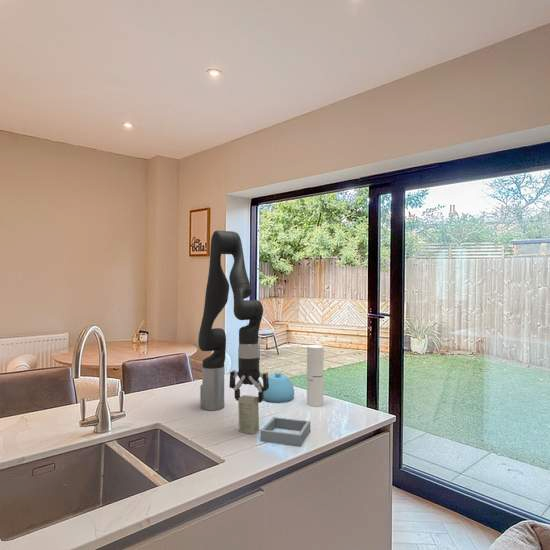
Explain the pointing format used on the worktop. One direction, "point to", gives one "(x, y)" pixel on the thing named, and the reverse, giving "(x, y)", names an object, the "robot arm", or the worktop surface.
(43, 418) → the worktop surface
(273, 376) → the sugar bowl
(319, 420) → the worktop surface
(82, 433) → the worktop surface
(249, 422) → the skincare box
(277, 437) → the box
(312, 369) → the cylindrical container
